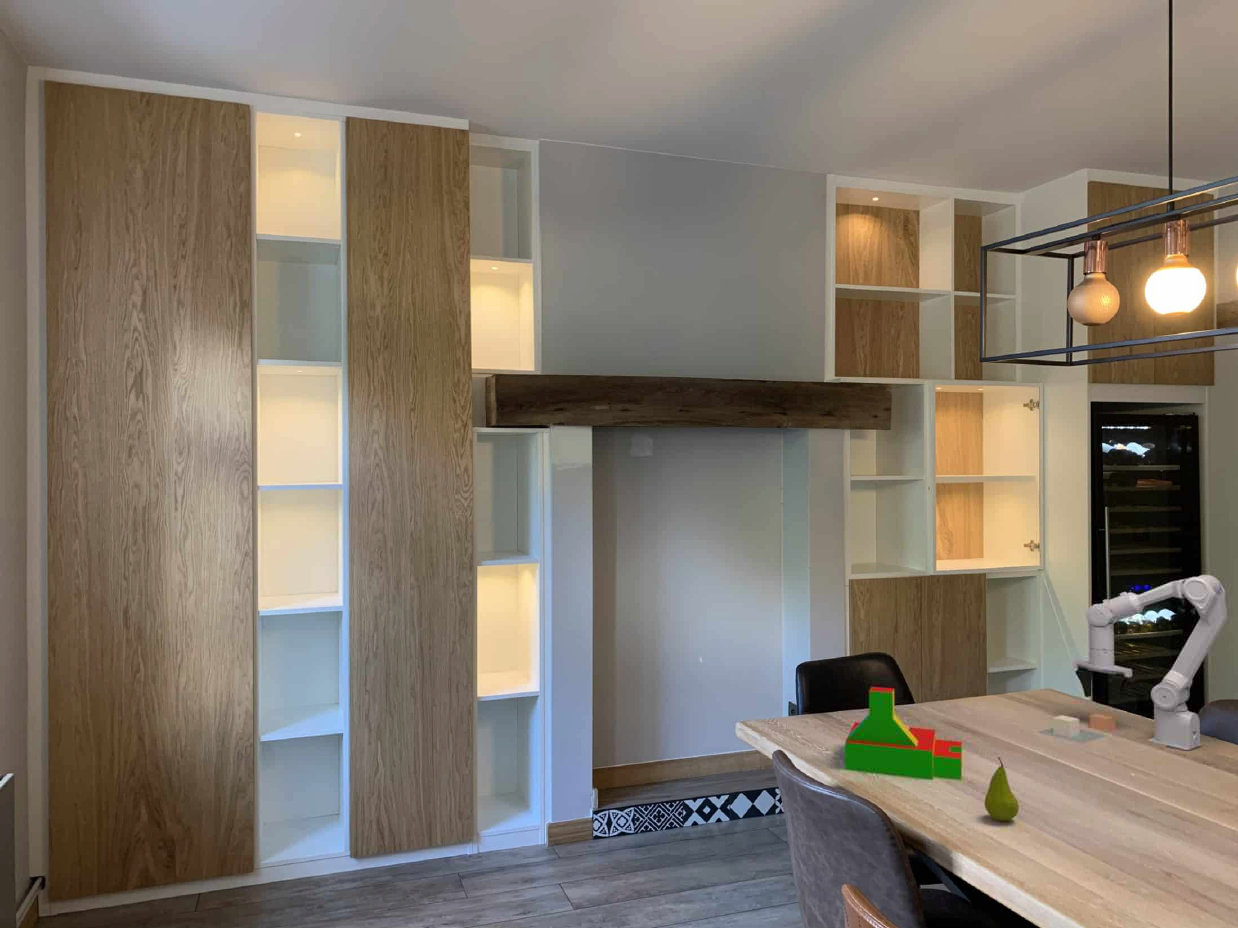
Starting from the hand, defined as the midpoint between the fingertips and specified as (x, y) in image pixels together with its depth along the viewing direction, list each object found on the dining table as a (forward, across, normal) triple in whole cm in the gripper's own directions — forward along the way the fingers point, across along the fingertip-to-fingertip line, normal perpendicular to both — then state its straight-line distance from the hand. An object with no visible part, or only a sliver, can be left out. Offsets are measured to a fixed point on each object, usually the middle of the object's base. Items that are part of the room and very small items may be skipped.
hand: (1102, 699), depth 237 cm
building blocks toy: (+9, +12, +68) cm, 70 cm away
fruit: (+8, -21, +82) cm, 85 cm away
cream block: (+8, +3, +13) cm, 15 cm away
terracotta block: (+8, 0, 0) cm, 9 cm away
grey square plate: (+8, +2, +12) cm, 15 cm away
